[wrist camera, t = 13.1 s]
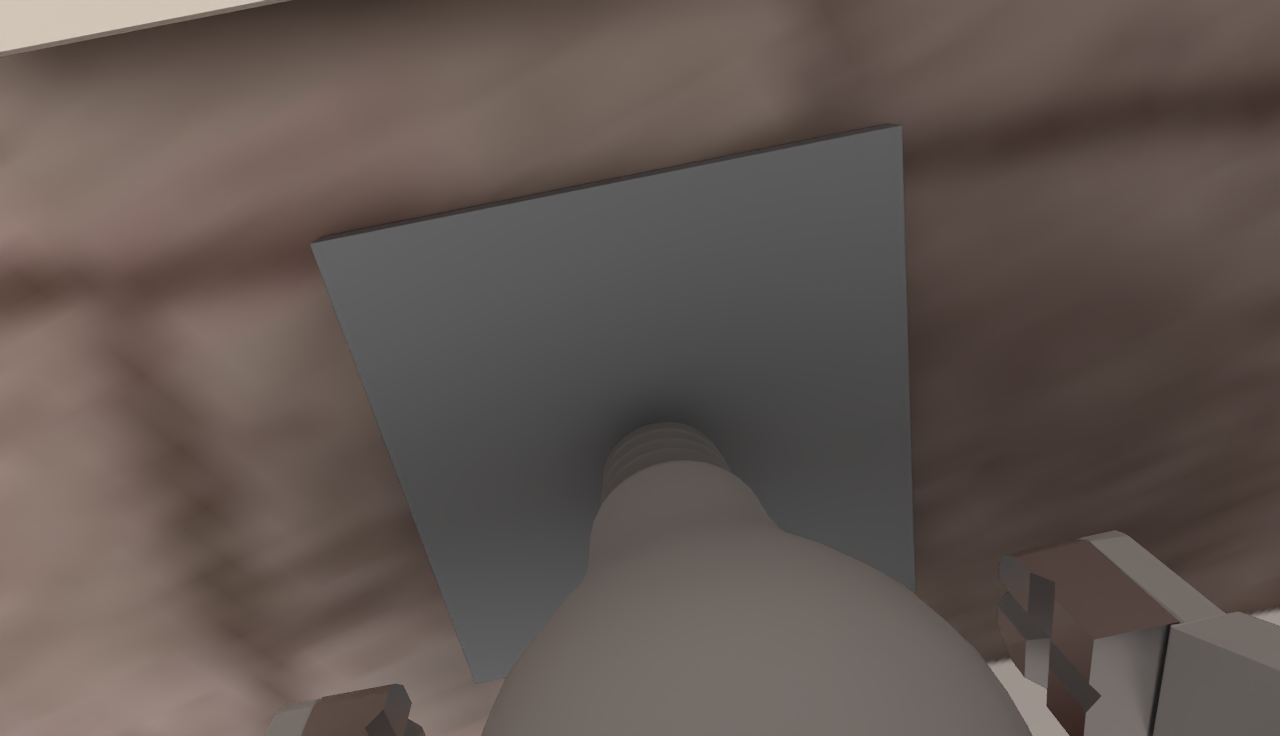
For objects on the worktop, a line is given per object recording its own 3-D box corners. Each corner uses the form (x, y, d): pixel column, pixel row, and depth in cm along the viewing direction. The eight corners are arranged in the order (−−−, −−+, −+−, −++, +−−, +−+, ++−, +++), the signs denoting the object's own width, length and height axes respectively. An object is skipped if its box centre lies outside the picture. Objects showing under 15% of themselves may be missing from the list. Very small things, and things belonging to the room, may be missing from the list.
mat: (888, 123, 13) (902, 124, 13) (904, 575, 17) (915, 591, 17) (320, 237, 13) (309, 244, 12) (478, 664, 17) (475, 684, 17)
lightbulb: (849, 466, 15) (1401, 1206, 5) (636, 616, 16) (749, 1480, 6) (685, 259, 13) (1084, 834, 3) (452, 446, 14) (167, 1346, 4)
